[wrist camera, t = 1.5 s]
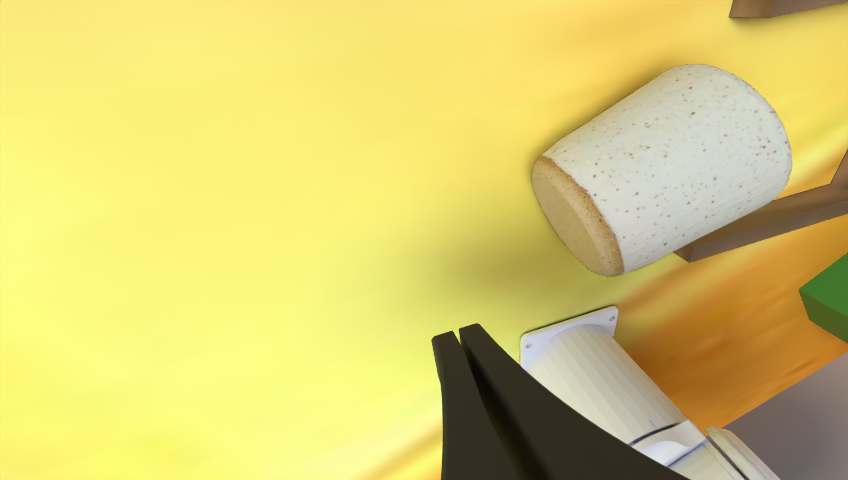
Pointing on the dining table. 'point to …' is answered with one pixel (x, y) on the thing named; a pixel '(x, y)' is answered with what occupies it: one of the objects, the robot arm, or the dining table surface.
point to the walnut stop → (789, 211)
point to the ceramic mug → (663, 169)
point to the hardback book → (829, 298)
